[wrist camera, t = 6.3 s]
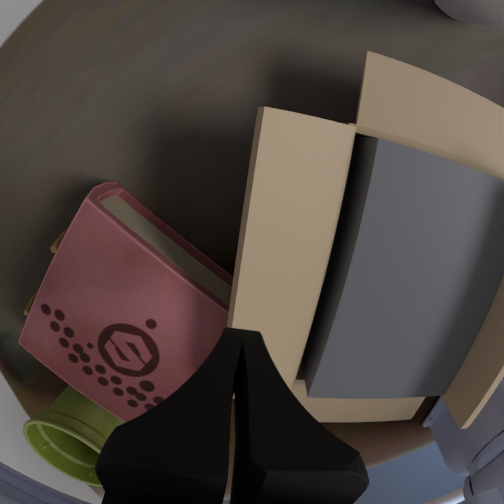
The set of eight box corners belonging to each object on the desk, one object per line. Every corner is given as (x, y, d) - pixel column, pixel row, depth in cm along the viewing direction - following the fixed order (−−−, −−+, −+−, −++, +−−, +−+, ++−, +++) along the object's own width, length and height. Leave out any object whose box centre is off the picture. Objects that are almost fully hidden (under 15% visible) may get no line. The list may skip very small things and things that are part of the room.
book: (111, 174, 20) (74, 188, 15) (278, 308, 24) (282, 351, 19) (40, 305, 24) (10, 335, 19) (172, 402, 28) (161, 442, 23)
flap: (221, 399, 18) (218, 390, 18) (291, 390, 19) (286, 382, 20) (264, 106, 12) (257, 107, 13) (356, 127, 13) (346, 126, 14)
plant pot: (45, 361, 26) (4, 419, 18) (113, 350, 25) (73, 423, 17) (93, 423, 29) (67, 481, 21) (162, 420, 28) (142, 490, 20)
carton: (399, 384, 26) (421, 433, 20) (274, 379, 26) (277, 437, 20) (486, 118, 17) (542, 123, 12) (338, 64, 17) (370, 40, 11)
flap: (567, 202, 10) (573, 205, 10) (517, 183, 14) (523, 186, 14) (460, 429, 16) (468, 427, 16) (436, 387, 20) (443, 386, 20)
